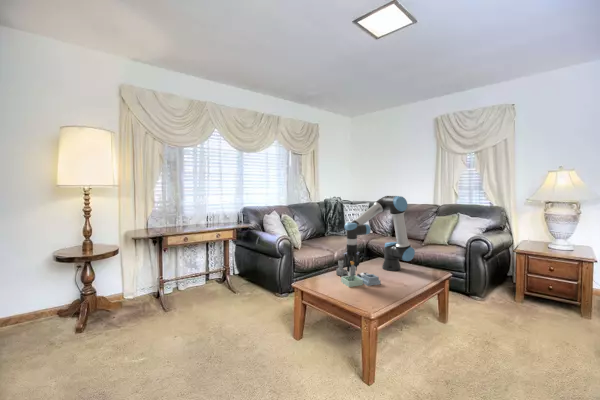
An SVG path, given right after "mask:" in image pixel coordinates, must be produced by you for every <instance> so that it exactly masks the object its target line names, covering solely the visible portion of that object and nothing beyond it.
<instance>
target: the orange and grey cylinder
mask: <svg viewBox="0 0 600 400" xmlns="http://www.w3.org/2000/svg"><path fill="white" fill-rule="evenodd" d="M350 267H351V276H350V281H354V261H353V260H351V262H350Z"/></svg>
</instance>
